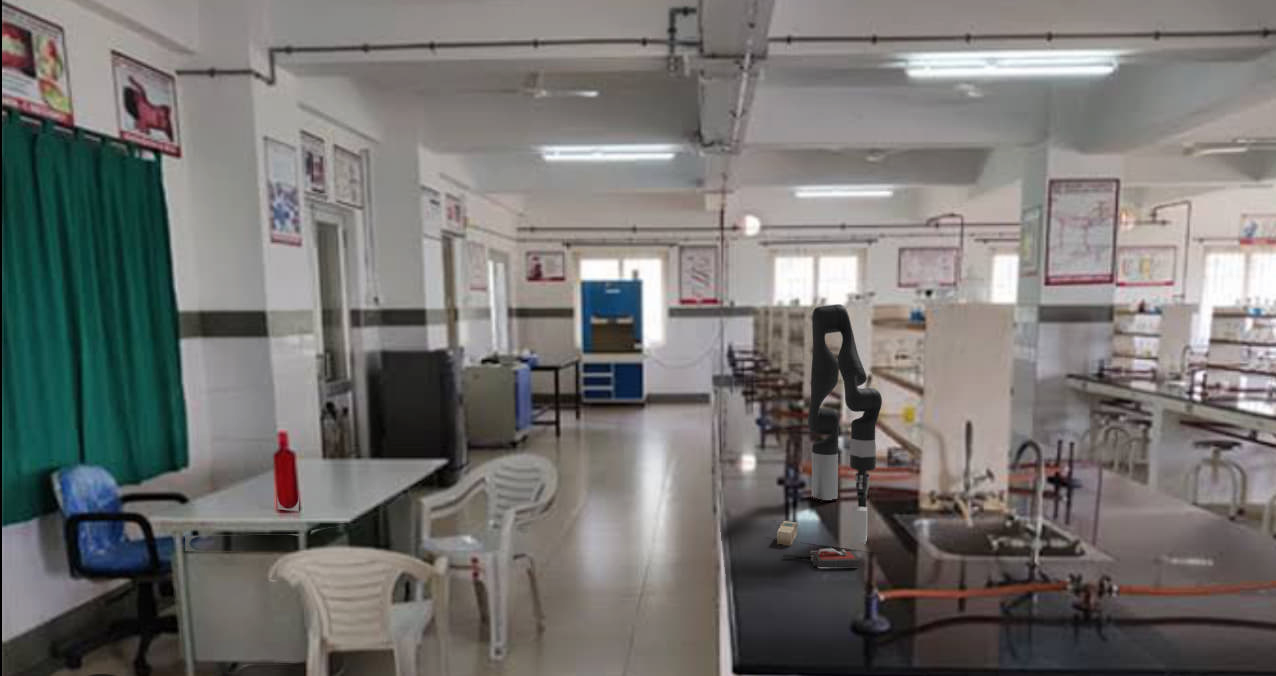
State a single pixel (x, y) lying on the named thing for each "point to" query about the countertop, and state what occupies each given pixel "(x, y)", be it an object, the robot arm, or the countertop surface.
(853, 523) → the grey block
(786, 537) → the beech block
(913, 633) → the countertop surface
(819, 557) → the walkie-talkie
